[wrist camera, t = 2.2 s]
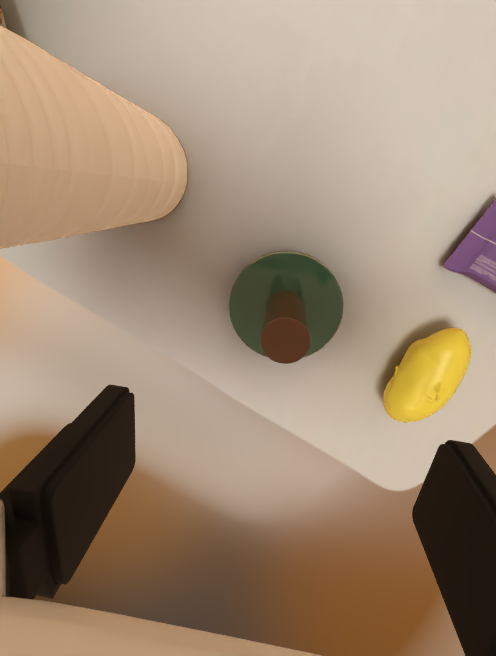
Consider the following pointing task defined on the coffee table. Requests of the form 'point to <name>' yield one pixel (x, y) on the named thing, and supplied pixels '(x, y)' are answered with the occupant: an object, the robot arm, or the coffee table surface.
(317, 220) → the coffee table surface
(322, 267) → the lid
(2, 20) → the seashell
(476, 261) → the snack package
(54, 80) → the water bottle
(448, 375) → the lemon
